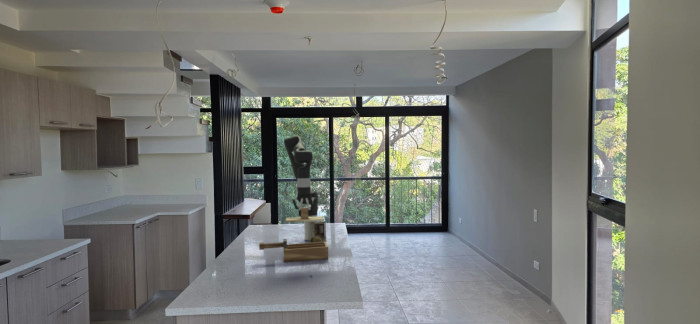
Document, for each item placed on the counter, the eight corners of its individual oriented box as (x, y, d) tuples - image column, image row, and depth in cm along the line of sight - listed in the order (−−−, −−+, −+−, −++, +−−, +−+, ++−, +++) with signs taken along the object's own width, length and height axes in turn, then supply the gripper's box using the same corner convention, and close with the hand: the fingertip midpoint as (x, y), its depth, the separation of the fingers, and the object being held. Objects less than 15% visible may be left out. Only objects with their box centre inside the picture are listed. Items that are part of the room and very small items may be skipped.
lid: (285, 219, 222) (285, 207, 222) (322, 217, 225) (322, 206, 225) (285, 222, 213) (285, 209, 213) (323, 220, 216) (323, 208, 216)
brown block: (259, 248, 222) (259, 242, 222) (284, 246, 224) (284, 241, 224) (259, 249, 219) (259, 244, 219) (284, 248, 221) (284, 242, 221)
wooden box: (283, 256, 229) (283, 237, 228) (325, 253, 233) (325, 235, 233) (283, 262, 217) (283, 243, 217) (328, 258, 221) (327, 239, 221)
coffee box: (326, 246, 248) (326, 221, 247) (325, 249, 242) (324, 223, 241) (312, 246, 249) (312, 221, 248) (310, 249, 243) (310, 223, 242)
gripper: (291, 187, 214) (291, 218, 214) (317, 186, 216) (317, 216, 217) (291, 185, 221) (291, 215, 222) (316, 185, 223) (316, 214, 224)
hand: (304, 216), depth 219 cm, fingers closed on lid, 4 cm apart
